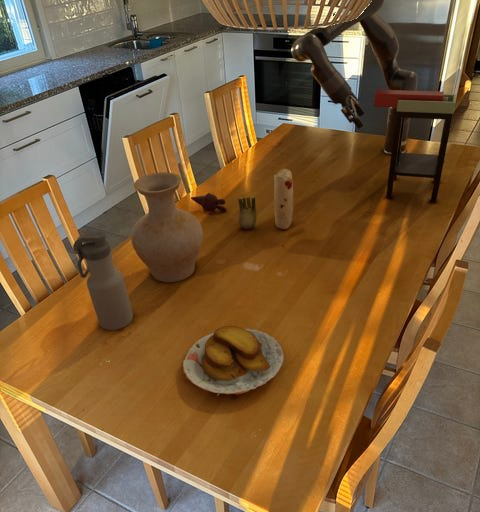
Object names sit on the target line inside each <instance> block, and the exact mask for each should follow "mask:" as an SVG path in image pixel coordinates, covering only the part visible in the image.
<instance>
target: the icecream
mask: <svg viewBox="0 0 480 512" xmlns="http://www.w3.org/2000/svg"><path fill="white" fill-rule="evenodd" d="M190 200H191V201H194V202H195V203H196V204H197V205H198V206H200V207H201V208H202V210H203V211H204V212H207V211H208V212H212V211H215V210H218V211H220V212H223V213H225V212H227V211H228V208H226V207H225V206H224V205H225V204H226V199H224V198H218V197H217V196H216V195H215V194H213V193H211V192H207V193H206V194H204V195H198V196H197V195H196V196H191V197H190Z"/></svg>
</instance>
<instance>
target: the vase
mask: <svg viewBox="0 0 480 512" xmlns="http://www.w3.org/2000/svg"><path fill="white" fill-rule="evenodd" d="M181 182H182V177H181V176H180V175H178V174H177V173H174V172H167V171H163V172H161V171H160V172H159V171H158V172H153V173H148V174H145V175H142V176H141V177H139V178H138V179H136V180H135V181H134V183H133V187H134V189H135V190H136V191H137V192H138V193H139V195H142V196H144V197H145V199H146V202H147V208H148V212H147V213H145V214H144V215H142V216H141V217H140V218H139V219H137V220H136V222H135V223H134V225H133V227H132V229H131V233H130V241H131V245H132V248H133V250H134V252H135V253H136V255H137V257H138V258H139V259H140V261H142V263H143V264H144V265H145V266H146V267H147V268H148V270H149V271H150V273H151V275H152V277H153V278H154V279H155V280H156V281H159V282H163V283H175V282H180V281H183V280H185V279H187V278H189V277H190V276H191V275H193V274H194V271H195V269H196V268H195V267H196V262H197V258H198V256H199V253H200V251H201V247H202V244H203V239H204V238H203V236H204V233H203V227H202V224H201V222H200V220H199V219H197V217H196V216H195V215H194V214H192V213H190V212H189V211H186V210H184V209H181V208H177V205H176V202H175V191H177V190H178V189H179V187H180V185H181Z"/></svg>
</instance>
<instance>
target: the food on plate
mask: <svg viewBox="0 0 480 512" xmlns="http://www.w3.org/2000/svg"><path fill="white" fill-rule="evenodd" d="M197 345H198V346H197ZM285 357H286V356H285V352H284V349H283V347H282V344H281V343H280V342H279V340H277V339H276V338H275V337H274V336H272V335H270V333H266V332H264V331H261V330H257V329H252V328H247V327H240V326H236V325H224V326H220V327H217V328H216V329H215V330H214V331H213V332H212V333H208V334H207V335H205V336H204V335H203V337H201V338H199V339H197V340H196V341H195V343H194V344H193V345H192V346H191V347H190V348H189V350H188V352H187V353H186V356H185V358H184V359H183V360H182V369H183V370H182V371H183V375H184V381H188V382H189V383H191V384H192V385H193V386H196V388H200V390H204V391H207V392H211V393H214V394H217V395H216V397H219V396H220V394H224V395H233V394H234V395H236V396H238V395H242V394H244V393H248V392H250V391H251V390H255V389H257V388H258V387H261V386H263V385H266V384H267V382H269V381H271V379H273V378H274V377H276V375H277V374H278V372H279V371H280V369H281V367H282V365H283V364H284V362H285Z"/></svg>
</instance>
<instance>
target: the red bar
mask: <svg viewBox="0 0 480 512" xmlns="http://www.w3.org/2000/svg"><path fill="white" fill-rule="evenodd" d="M444 94H445V91H432V90H431V91H430V90H428V91H426V90H416V91H400V90H388V89H376V90H375V92H374V100H373V107H374V108H389V107H390V108H397V105H398V100H412V101H442V102H447V101H448V97H443V95H444Z"/></svg>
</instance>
